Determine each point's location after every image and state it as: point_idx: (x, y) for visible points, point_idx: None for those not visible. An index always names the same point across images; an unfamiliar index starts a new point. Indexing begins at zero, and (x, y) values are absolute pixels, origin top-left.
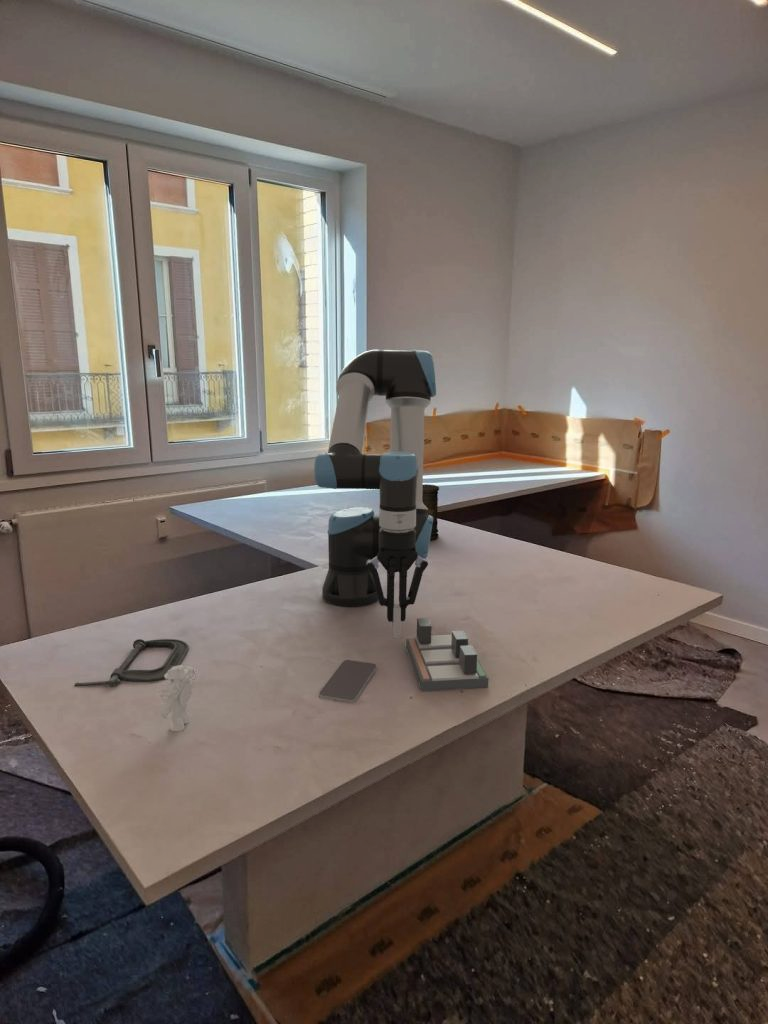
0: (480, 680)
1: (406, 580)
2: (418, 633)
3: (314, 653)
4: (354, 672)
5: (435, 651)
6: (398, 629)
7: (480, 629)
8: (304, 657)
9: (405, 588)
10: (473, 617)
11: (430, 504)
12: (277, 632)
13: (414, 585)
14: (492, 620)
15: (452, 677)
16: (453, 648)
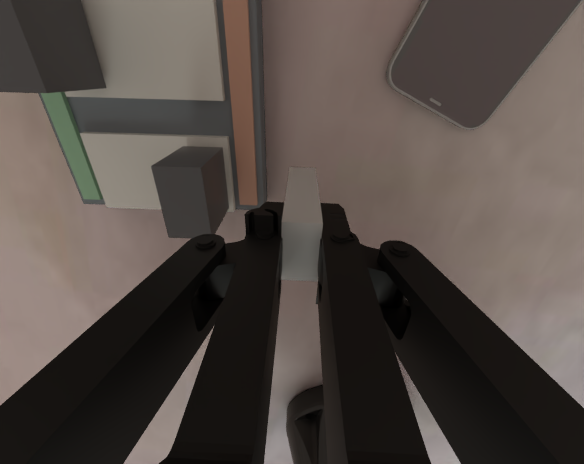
0: None
1: (189, 404)
2: (219, 186)
3: (532, 198)
4: (487, 18)
5: (169, 85)
6: (296, 177)
7: (67, 265)
8: (573, 178)
9: (225, 321)
10: (92, 317)
11: None
12: (560, 313)
13: (127, 340)
14: (45, 300)
15: None
16: (80, 44)
